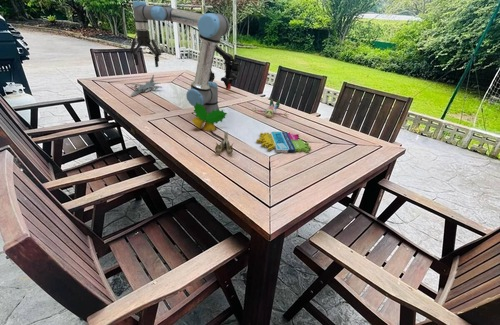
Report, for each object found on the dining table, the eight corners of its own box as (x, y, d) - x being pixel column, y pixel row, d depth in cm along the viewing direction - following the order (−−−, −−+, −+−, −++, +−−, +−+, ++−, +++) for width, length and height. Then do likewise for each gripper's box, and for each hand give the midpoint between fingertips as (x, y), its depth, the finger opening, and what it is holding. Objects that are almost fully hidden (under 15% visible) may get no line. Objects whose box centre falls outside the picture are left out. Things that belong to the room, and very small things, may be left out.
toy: (292, 100, 208) (288, 110, 182) (291, 109, 211) (287, 120, 186) (258, 96, 213) (250, 105, 187) (258, 105, 216) (249, 115, 190)
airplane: (124, 86, 239) (122, 75, 233) (160, 84, 252) (158, 73, 247) (129, 98, 210) (126, 86, 205) (168, 95, 223) (167, 83, 218)
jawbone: (234, 135, 144) (233, 125, 135) (233, 160, 138) (232, 151, 129) (217, 135, 144) (216, 125, 135) (216, 160, 138) (214, 150, 129)
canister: (230, 88, 243) (230, 83, 240) (230, 89, 239) (230, 84, 237) (226, 88, 242) (226, 83, 240) (225, 89, 239) (225, 84, 236)
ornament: (218, 133, 171) (224, 110, 169) (221, 134, 163) (227, 111, 161) (186, 125, 162) (192, 101, 160) (189, 126, 155) (195, 101, 153)
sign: (313, 150, 142) (258, 149, 139) (312, 153, 143) (258, 152, 140) (301, 132, 164) (254, 130, 161) (301, 134, 165) (254, 133, 162)
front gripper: (164, 31, 165) (167, 66, 175) (126, 28, 166) (131, 63, 177) (159, 31, 158) (163, 68, 168) (120, 28, 160) (126, 65, 170)
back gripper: (232, 72, 222) (231, 91, 230) (241, 69, 238) (240, 87, 245) (220, 71, 226) (220, 89, 233) (230, 68, 241) (229, 85, 249)
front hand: (147, 66), depth 173 cm, fingers open, 13 cm apart
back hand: (228, 87), depth 240 cm, fingers closed on canister, 4 cm apart
